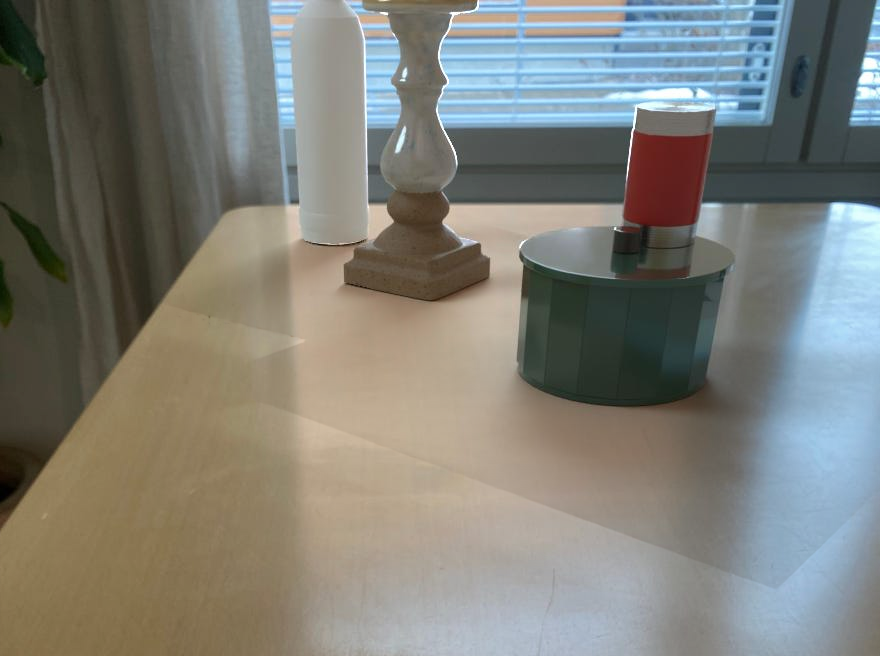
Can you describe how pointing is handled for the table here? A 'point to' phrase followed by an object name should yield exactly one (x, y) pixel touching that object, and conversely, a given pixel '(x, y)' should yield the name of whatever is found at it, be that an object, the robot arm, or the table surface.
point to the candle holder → (418, 169)
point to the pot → (615, 340)
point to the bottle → (330, 122)
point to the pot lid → (623, 259)
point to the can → (667, 171)
